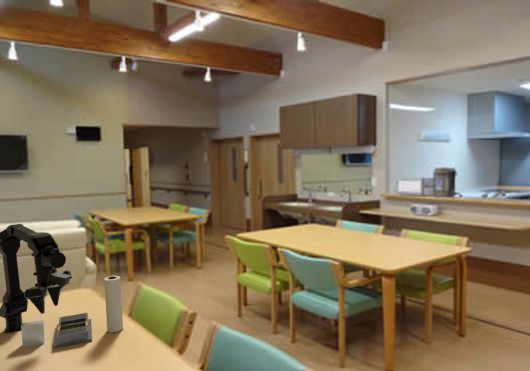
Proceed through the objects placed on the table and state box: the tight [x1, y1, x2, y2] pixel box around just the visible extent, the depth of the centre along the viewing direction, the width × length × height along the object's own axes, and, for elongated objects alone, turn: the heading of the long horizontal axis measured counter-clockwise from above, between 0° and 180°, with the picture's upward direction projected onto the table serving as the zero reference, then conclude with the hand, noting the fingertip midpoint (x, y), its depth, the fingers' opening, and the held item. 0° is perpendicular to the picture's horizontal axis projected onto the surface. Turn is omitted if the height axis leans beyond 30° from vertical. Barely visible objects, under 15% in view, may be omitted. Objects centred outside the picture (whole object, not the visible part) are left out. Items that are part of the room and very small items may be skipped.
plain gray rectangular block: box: [20, 319, 46, 348], centre depth 152 cm, size 3×7×8 cm, turn 114°
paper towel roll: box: [103, 274, 124, 333], centre depth 163 cm, size 7×6×21 cm
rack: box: [52, 312, 93, 349], centre depth 160 cm, size 21×13×4 cm, turn 24°
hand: (49, 309), depth 150 cm, fingers open, 9 cm apart
